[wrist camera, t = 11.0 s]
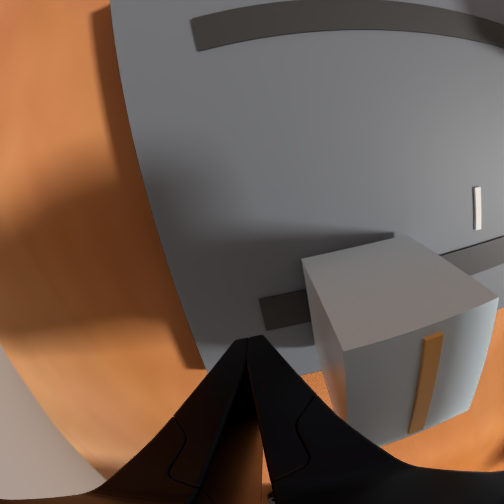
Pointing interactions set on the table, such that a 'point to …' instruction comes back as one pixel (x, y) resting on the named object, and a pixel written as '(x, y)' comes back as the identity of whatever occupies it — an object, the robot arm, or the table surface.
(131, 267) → the table surface
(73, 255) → the table surface
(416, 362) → the block
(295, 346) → the console
